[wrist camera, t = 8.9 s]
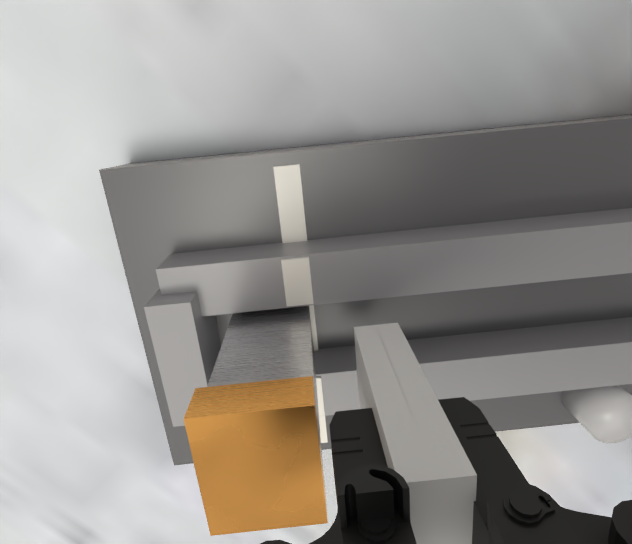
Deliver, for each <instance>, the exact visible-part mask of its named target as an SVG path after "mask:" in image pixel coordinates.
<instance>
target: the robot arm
mask: <svg viewBox="0 0 632 544" xmlns="http://www.w3.org/2000/svg"><path fill="white" fill-rule="evenodd" d="M354 337H355V352H356V366H357V381H358V396H359V400H360V404H361V409H356V410H346V411H336V412H335V414H334V416H333V418H332V420H331V423H330V425H329V427H330V437H331V447H332V458H333V468H334V477H335V486H336V496H337V505H338V513H337V516H336V519H335V522H334V523H333V525H332V526H331V528H330V529H329V530H328V531H327V532H326V533H325V534H324V535H323V536H322V537H320V538H319V539H317V540H315V541H314V542H312V543H309V544H632V500H629V501H622V502H621V503H619V504H618V505H617V506H615V507H614V510H613V514H612V518H611V517H605V516H600V515H594V514H588V513H582V512H577V511H573V510H569V509H565V508H563V507H560V506H559V505H558V504H557V503H556V502H555V500H554V499H553V498H552V497H551V496H550V495H549V494H547V493H546V492H544V491H542V490H541V489H539V488H537V487H536V486H533V485H530V484H529V483H528V482H527V480H526V479H525V477H524V476H523V474H522V473H521V471H520V470H519V468H518V467H517V465H516V464H515V462H514V460H513V459H512V457H511V456H510V454H509V453H508V451H507V450H506V448H505V447H504V445H503V444H502V442H501V441H500V439H499V437H497V436H496V433H495V431H494V430H493V428H492V427H491V425H489V422H488V421H487V419H486V418H485V416H484V414H483V413H482V411H481V410H480V408H478V407H477V406H476V405H474V404H473V403H472V402H470V401H469V400H468V399H466V398H465V397H458V398H449V399H439V400H438V399H437V397H436V395H435V393H434V391H433V389H432V388H431V386H430V384H429V382H428V380H427V378H426V376H425V374H424V372H423V370H422V368H421V366H420V364H419V362H418V361H417V359H416V357H415V355H414V353H413V351H412V349H411V347H410V345H409V343H408V341H407V339H406V337H405V336H404V334H403V332H402V330H401V328H400V326H399V324H398V323H388V324H378V325H369V326H359V327H354ZM261 544H291V543H288V542H285V541H282V540H273V541H265V542H263V543H261Z"/></svg>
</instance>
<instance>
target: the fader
mask: <svg viewBox="0 0 632 544" xmlns="http://www.w3.org/2000/svg"><path fill="white" fill-rule="evenodd" d="M184 423H185V428H186V432H187V436H188V441H189V445H190V449H191V453H192V458H193V462H194V466H195V470H196V475H197V479H198V483H199V488H200V492H201V496H202V500H203V505H204V509H205V513H206V517H207V522H208V526H209V530H210V534H211V536H212V535H221V534H231V533H240V532H249V531H259V530H268V529H277V528H287V527H296V526H305V525H315V524H324V523H328V522H327V509H326V496H325V484H324V474H323V464H322V450H321V437H320V424H319V411H318V398H317V385H316V371H315V358H314V345H313V336H312V326H311V317H310V307H309V306H300V307H290V308H280V309H271V310H261V311H251V312H241V313H233V314H232V317H231V320H230V323H229V325H228V328H227V331H226V334H225V337H224V340H223V343H222V346H221V348H220V351H219V354H218V357H217V360H216V363H215V366H214V369H213V371H212V374H211V377H210V380H209V383H208V386H207V387H202V388H195V391H194V393H193V396H192V398H191V401H190V404H189V406H188V409H187V411H186V414H185V416H184Z"/></svg>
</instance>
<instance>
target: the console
mask: <svg viewBox="0 0 632 544" xmlns="http://www.w3.org/2000/svg"><path fill="white" fill-rule="evenodd" d="M99 171H100V175H101V179H102V183H103V187H104V191H105V195H106V199H107V203H108V206H109V210H110V214H111V218H112V222H113V226H114V230H115V234H116V238H117V242H118V246H119V250H120V254H121V258H122V262H123V266H124V269H125V273H126V277H127V281H128V285H129V289H130V293H131V297H132V301H133V305H134V309H135V313H136V317H137V321H138V325H139V329H140V332H141V336H142V340H143V344H144V348H145V352H146V356H147V360H148V364H149V368H150V372H151V376H152V380H153V384H154V388H155V392H156V395H157V399H158V403H159V407H160V411H161V415H162V419H163V423H164V427H165V431H166V435H167V439H168V443H169V447H170V451H171V455H172V458H173V462H174V465H181V464H190V463H194V462H193V458H192V453H191V449H190V445H189V441H188V436H187V432H186V428H185V423H184V416H185V414H186V411H187V409H188V406H189V404H190V401H191V398H192V396H193V393H194V391H195V388H202V387H207V386H208V383H209V380H210V377H211V374H212V371H213V369H214V366H215V363H216V360H217V357H218V354H219V351H220V348H221V346H222V343H223V340H224V337H225V334H226V331H227V328H228V325H229V323H230V320H231V317H232V314H233V313H241V312H251V311H261V310H271V309H280V308H290V307H300V306H309V307H310V317H311V326H312V336H313V345H314V358H315V371H316V385H317V398H318V411H319V424H320V437H321V450H324V449H332V447H331V437H330V427H329V425H330V423H331V420H332V418H333V416H334V414H335V412H336V411H346V410H356V409H361V404H360V400H359V396H358V381H357V366H356V352H355V337H354V327H359V326H369V325H378V324H388V323H398V324H399V326H400V328H401V330H402V332H403V334H404V336H405V337H406V339H407V341H408V343H409V345H410V347H411V349H412V351H413V353H414V355H415V357H416V359H417V361H418V362H419V364H420V366H421V368H422V370H423V372H424V374H425V376H426V378H427V380H428V382H429V384H430V386H431V388H432V389H433V391H434V393H435V395H436V397H437V399H438V400H439V399H449V398H458V397H465V398H466V399H468V400H469V401H470V402H472V403H473V404H474V405H476V406H477V407H478V408H480V410H481V411H482V413H483V414H484V416H485V418H486V419H487V421H488V422H489V425H491V427H492V428H493V430H494V431H504V430H514V429H524V428H533V427H543V426H552V425H562V424H571V423H581V424H582V425H583V426H584V427H585V428H586V430H587V431H588V432H589V433H590V434H591V435H592V436H593V437H594V438H595V439H597V440H598V441H601V442H604V443H616V442H620V441H623V440H625V439H627V438H629V437H631V436H632V115H624V116H614V117H603V118H593V119H583V120H573V121H562V122H552V123H542V124H532V125H521V126H511V127H501V128H490V129H480V130H470V131H460V132H449V133H439V134H429V135H418V136H408V137H398V138H388V139H377V140H367V141H357V142H347V143H336V144H326V145H316V146H305V147H295V148H285V149H275V150H264V151H254V152H244V153H233V154H223V155H213V156H203V157H192V158H182V159H172V160H162V161H151V162H141V163H131V164H125V165H120V166H116V167H111V168H106V169H101V170H99Z"/></svg>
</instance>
